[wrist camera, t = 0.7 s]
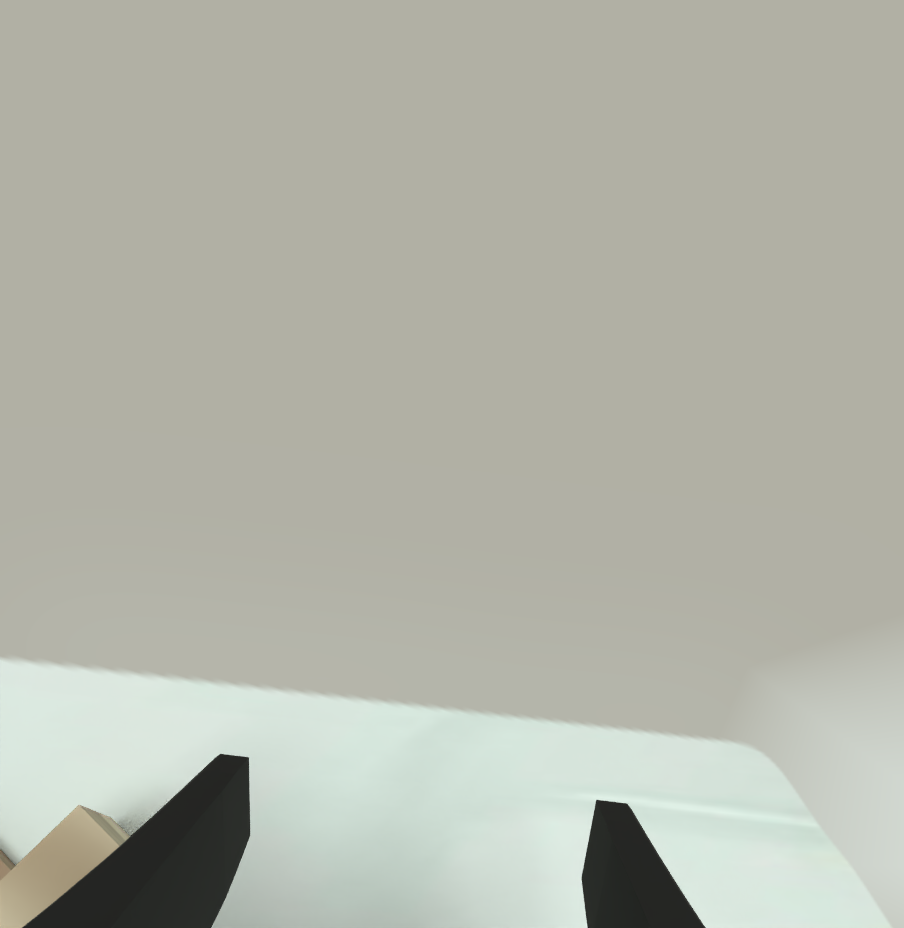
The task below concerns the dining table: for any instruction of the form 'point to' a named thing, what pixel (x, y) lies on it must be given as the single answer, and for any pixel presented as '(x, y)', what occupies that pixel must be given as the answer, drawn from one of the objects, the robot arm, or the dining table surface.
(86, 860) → the wooden knob frame
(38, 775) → the dining table surface
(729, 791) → the dining table surface
